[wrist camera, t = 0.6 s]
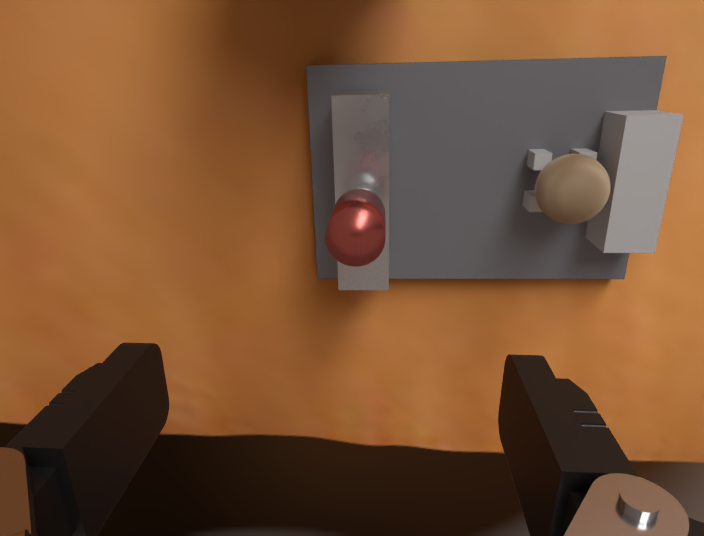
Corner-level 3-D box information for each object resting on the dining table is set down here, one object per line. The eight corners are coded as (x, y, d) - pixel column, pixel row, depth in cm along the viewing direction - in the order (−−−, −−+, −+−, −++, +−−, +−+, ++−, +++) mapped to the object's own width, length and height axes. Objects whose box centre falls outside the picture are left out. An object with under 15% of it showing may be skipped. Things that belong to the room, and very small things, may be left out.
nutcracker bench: (653, 56, 31) (696, 55, 26) (614, 270, 36) (645, 297, 32) (309, 65, 32) (298, 65, 28) (320, 270, 37) (311, 296, 33)
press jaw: (388, 90, 30) (390, 103, 20) (388, 260, 35) (389, 350, 24) (339, 91, 31) (313, 105, 20) (344, 260, 35) (325, 349, 24)
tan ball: (599, 148, 30) (629, 159, 26) (589, 213, 32) (616, 232, 28) (530, 149, 30) (550, 160, 27) (523, 213, 32) (542, 233, 28)
